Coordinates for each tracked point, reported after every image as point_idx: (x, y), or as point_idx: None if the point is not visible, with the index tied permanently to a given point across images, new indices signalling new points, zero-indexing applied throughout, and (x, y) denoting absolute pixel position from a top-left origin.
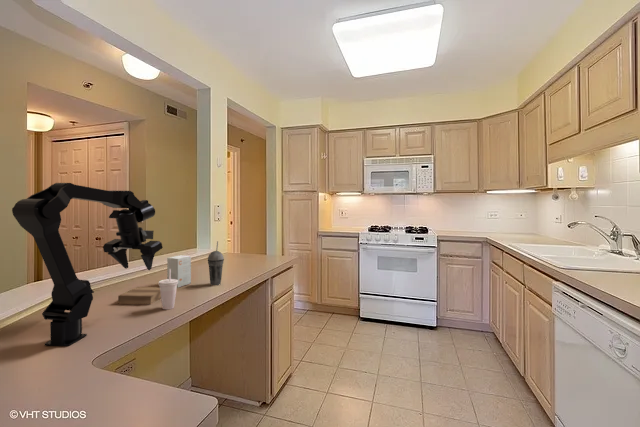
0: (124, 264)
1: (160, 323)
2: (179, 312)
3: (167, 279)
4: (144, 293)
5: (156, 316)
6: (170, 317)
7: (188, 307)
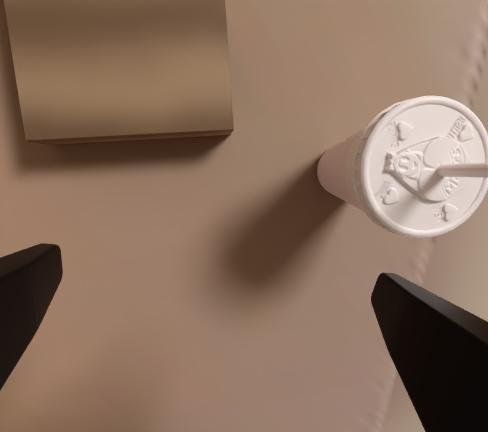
0: (28, 332)
1: None
2: None
3: (400, 123)
4: (157, 74)
5: (347, 279)
6: None
7: None
